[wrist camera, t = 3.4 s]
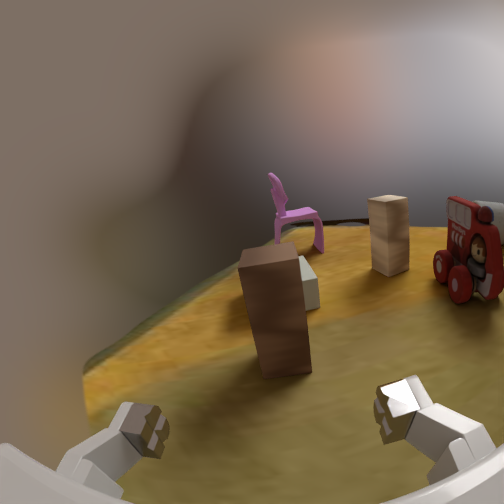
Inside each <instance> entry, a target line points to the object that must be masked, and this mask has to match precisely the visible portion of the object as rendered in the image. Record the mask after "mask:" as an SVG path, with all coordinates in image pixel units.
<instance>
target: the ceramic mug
mask: <svg viewBox="0 0 504 504" xmlns="http://www.w3.org/2000/svg"><path fill="white" fill-rule="evenodd" d="M473 203H476V204H478V205H480V206H481V207H482V206H489V207H490V208H491V209H492V210H493V213H494V221H493V222H491V224H493V225H495V226H497V228H498V230H499V233H500V240H501V245H503V244H504V204H502V203H494V202H484V201H473Z"/></svg>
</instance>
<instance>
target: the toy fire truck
mask: <svg viewBox="0 0 504 504" xmlns="http://www.w3.org/2000/svg"><path fill="white" fill-rule="evenodd" d="M447 217H448V236H447V250H439V251H437V252H436V253H435V255H434V259H433V268H434V274H435V277H436V279H437V281H438V282H439V283H447V282H448V288H449V293H450V297H451V299H452V300H453V302H455V303H457V304H459V303H464V302H467V301H468V300H469V299H470V297H471V294H472V293H474V292H479V293H480V294H481V295H482V296H483V297H484V298H485V299H486V300H490V299H495V298H497V297H498V295H499V294H500V293H501V292H502V290H503V288H504V266H503V256H502V248H501V240H500V233H499V230H498V228H497V226H495V225H493V224H491V222H493V221H494V213H493V210H492V209H491V208H490V207H489V206H482V207H481V206H480V205H478V204H476V203H473V202H470V201H468V200H465V199H463V198H460V197H457V196H454V197H448V199H447Z"/></svg>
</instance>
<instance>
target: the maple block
mask: <svg viewBox="0 0 504 504" xmlns="http://www.w3.org/2000/svg"><path fill="white" fill-rule="evenodd" d="M367 200H368V211H369V223H370V236H371V255H372V268H373V269H375V270H377V271H378V272H380V273H382V274H384V275H386V276H387V277H390V276H393V275H395V274H398V273H400V272H403V271H405V270H408V269H409V215H408V199H407V197H400V196H393V195H386V196H380V197H375V198H370V199H367Z"/></svg>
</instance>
